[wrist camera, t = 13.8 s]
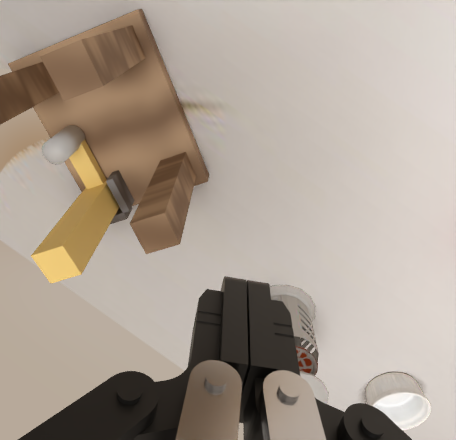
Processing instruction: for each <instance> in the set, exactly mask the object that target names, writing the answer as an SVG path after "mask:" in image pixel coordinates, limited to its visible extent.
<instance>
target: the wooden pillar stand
mask: <svg viewBox="0 0 456 440" xmlns="http://www.w3.org/2000/svg"><path fill="white" fill-rule="evenodd" d="M8 65H9V66H10V68H11V70H12V72H10V73H8V74H5V75H2V76H0V124H2V123H4V122H6V121H8V120H9V119H11V118H13V117H15V116H17V115H18V114H21V113H22V112H24V111H26V110H28V109H30V108H32V107H33V108H34V110H35V111H36V113H37V115H38V117H39V118H40V120H41V122H42V124H43V125H44V127H45V129H46V131H47V132H48V134H49V136H50V138H52V137H53V136H54V135H56V134H57V133H58V132H60V131H61V130H62V129H64V128H65V127H66V126H69V125H74V126H77V127H79V128H80V129H81V130H82V131H83V133H84V135H85V141H86V143H87V145H88V146H89V148H90V150H91V152H92V154H93V156H94V157H95V159H96V161H97V163H98V165H99V167H100V168H101V170H102V172H103V174H104V176H105V178H106V179H107V180H106V183H107V185H108V186H109V188H110V190H111V192H112V194H113V196H114V198H115V199H116V201H117V203H118V205H119V209H118V211H117V212H116V214H115V216H114V218H113V219H112V221H111V223H110V224H112V223H115V222H118V221H122V220H125V219H127V218H128V216H129V214H130V212H131V210H132V206H133V205H136V204H139V206H138V208H137V210H136V212H135V214H134V216H133V218H132V220H131V222H130V225H131V227H132V229H133V231H134V232H135V234H136V236H137V238H138V240H139V242H140V244H141V245H142V247H143V249H144V251H145V253H146V254H148V253H151V252H155V251H158V250H162V249H165V248H168V247H172V246H175V245H178V244H180V242H181V238H182V233H183V229H184V225H185V221H186V217H187V213H188V208H189V204H190V200H191V196H192V192H193V187H194V186H195V185H199V184H202V183H205V182H208V178H209V173H208V171H207V168H206V166H205V163H204V161H203V158H202V156H201V154H200V151H199V149H198V146H197V144H196V141H195V139H194V136H193V134H192V131H191V129H190V126H189V124H188V122H187V119H186V117H185V114H184V112H183V109H182V107H181V104H180V102H179V99H178V97H177V94H176V92H175V89H174V87H173V85H172V82H171V80H170V77H169V75H168V72H167V70H166V67H165V65H164V62H163V60H162V57H161V55H160V53H159V50H158V48H157V45H156V43H155V40H154V38H153V35H152V33H151V30H150V28H149V25H148V23H147V21H146V18H145V16H144V13H143V11H142V9H139V10H135V11H133V12H131V13H128V14H126V15H123V16H121V17H119V18H116V19H114V20H112V21H109V22H107V23H104V24H102V25H100V26H97V27H95V28H92V29H90V30H88V31H85V32H83V33H81V34H78V35H76V36H73V37H71V38H69V39H66V40H64V41H61V42H59V43H57V44H54V45H52V46H49V47H47V48H45V49H42V50H40V51H38V52H35V53H33V54H30V55H28V56H26V57H23V58H21V59H18V60H16V61H14V62H11V63H9V64H8ZM65 164H66V165H67V167H68V169H69V170H70V172H71V174H72V176H73V177H74V179H75V181H76V183H77V184H78V186H79V188H80V190H81V191H82V192H83V190H84V189H85V188H86V187H85V185H84V183H83V181H82V180H81V178H80V176H79V174H78V173H77V171H76V169H75V168H74V166H73V164H72V162H71V161H70V159H69V158H68V159H67V160H66V161H65Z"/></svg>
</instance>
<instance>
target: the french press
mask: <svg viewBox="0 0 456 440" xmlns="http://www.w3.org/2000/svg"><path fill="white" fill-rule="evenodd" d="M270 294H271V300H277V301H283V303H284V304H285V306H286V307H287V309H288V310H289V312H290V314H291V320H292V328H293V332H294V339H295V345H296V351H297V357H298V364H299V370H300V376H301V377H302V378H303V379H305V380H306V381H307V382H308V384H309V385H310V386H311V388H312V390H313V393H314V396H315V398H316V399H318V400H320V401H321V402H323V403H325V404H327V402H328V395H329V392H328V390H327V388H326V386H325V384H324V383H323V382H322V381H321V380H320V379H318V378H317V377H315V374H316V373H317V368H318V363H317V362H318V349H317V345H316V340H315V337H314V331H313V326H312V321H313V320H314V318H315V307H316V306H315V304H314V302H313V300H312V298H311V296H309V295H308V294H307V293H305V292H304V291H303V290H301V289H299V288H296V287H292V286H289V285H276V286H271V287H270ZM308 327H310V329H308ZM306 330H307V331H308V332H307V333H306V332H305V331H306ZM311 331H312V332H313V333H312V332H311ZM309 334H311V337H310V336H309ZM300 337H301V339H300ZM313 338H314V340H313ZM305 339H306V340H307V341H306V342H305V343H304V344H303V345H302V346H301V342H302V341H303V340H305ZM309 343H311V346H310V347H309V348H308V349H307V350H306V349H304V348H305V347H306V346H307V345H308V344H309ZM313 347H315V348H316V349H315V351H314V352H313V353H312V354H311V353H310V351H311V350H312V348H313Z"/></svg>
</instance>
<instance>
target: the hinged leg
mask: <svg viewBox="0 0 456 440" xmlns="http://www.w3.org/2000/svg"><path fill="white" fill-rule="evenodd" d="M42 153H43V156H44V157H45V159H46V160H47V161H49V162H50V163H52V164H62V163H64V162H65V161H66V160H67V159H68V158H69V159H70V161H71V162H72V164H73V166H74V168H75V169H76V171H77V173H78V174H79V176H80V178H81V180H82V181H83V183H84V185H85V187H86V188H85V189H84V190H83V192H82V193H81V194H80V195H79V197H78V198H77V199H76V200H75V202H74V203H73V204H72V205H71V207H70V208H69V209H68V210H67V212H66V213H65V214H64V215H63V217H62V218H61V219H60V220H59V222H58V223H57V224H56V225H55V227H54V228H53V229H52V230H51V232H50V233H49V234H48V235H47V237H46V238H45V239H44V240H43V242H42V243H41V244H40V245H39V247H38V248H37V249H36V250H35V252H34V253H33V254H32V255H31V256H32V258H33V259H34V261H35V262H36V264H37V265H38V266H39V268H40V269H41V271H42V272H43V273H44V275H45V276H46V278H47V279H48V281H49V282H50V283H54V282H58V281H61V280H64V279H67V278H71V277H74V276H77V275H81V274H82V272H83V271H84V269H85V267H86V265H87V264H88V262H89V260H90V258H91V256H92V255H93V253H94V251H95V249H96V248H97V246H98V244H99V242H100V241H101V239H102V237H103V235H104V234H105V232H106V230H107V228H108V226H109V225H110V223H111V221H112V219H113V218H114V216H115V214H116V212H117V211H118V209H119V205H118V203H117V201H116V199H115V198H114V196H113V194H112V192H111V190H110V188H109V186H108V185H107V183H106V180H107V179H106V178H105V176H104V174H103V172H102V170H101V168H100V167H99V165H98V163H97V161H96V159H95V157H94V156H93V154H92V152H91V150H90V148H89V146H88V145H87V143H86V141H85V135H84V133H83V131H82V130H81V129H80V128H79V127H77V126H74V125H69V126H66V127H65V128H64V129H62V130H61V131H60V132H58V133H57V134H56V135H54V136H53V137H52V138H50V139H49V140H48V141H46V142H45V143H44V144H43V146H42Z"/></svg>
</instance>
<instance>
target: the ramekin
mask: <svg viewBox="0 0 456 440" xmlns="http://www.w3.org/2000/svg"><path fill="white" fill-rule="evenodd" d="M366 398H367V403H368V405H371V406H373V407H375V408H377V409H379V410H380V411H382V412H383V413H384V414H385V415H387V416H388V417H389V418H390V419H391V420H392V421H393V422H394V423H395V424H396V425H397V426H398V427H399V428H400V429H401V430H407V429H411V428H413V427H416V426H418V425H420V424H421V423H422V422H424V421H425V420H426V419H427V418H428V416H429V415H430V412H431V404H430V402H429V400H428V399H427V398H426V397H425V396H424V394H423V392H422V390H421V388H420V387H419V385H418V383H417V382H416V380H415V379H414V378H413V377H411V376H409V375H407V374H404V373H398V372H391V373H386V374H382V375H380V376H378V377H376V378H374V379H373V380H372V381H371V382H370V383H369V384H368V386H367V388H366Z"/></svg>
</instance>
